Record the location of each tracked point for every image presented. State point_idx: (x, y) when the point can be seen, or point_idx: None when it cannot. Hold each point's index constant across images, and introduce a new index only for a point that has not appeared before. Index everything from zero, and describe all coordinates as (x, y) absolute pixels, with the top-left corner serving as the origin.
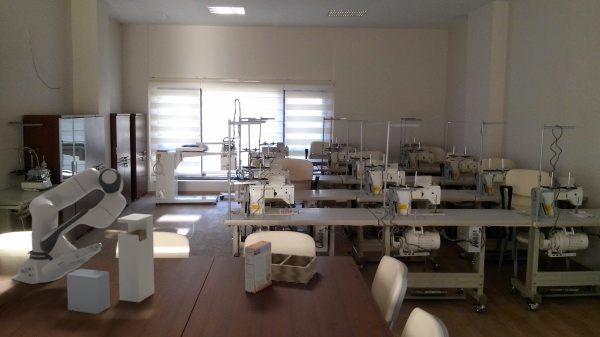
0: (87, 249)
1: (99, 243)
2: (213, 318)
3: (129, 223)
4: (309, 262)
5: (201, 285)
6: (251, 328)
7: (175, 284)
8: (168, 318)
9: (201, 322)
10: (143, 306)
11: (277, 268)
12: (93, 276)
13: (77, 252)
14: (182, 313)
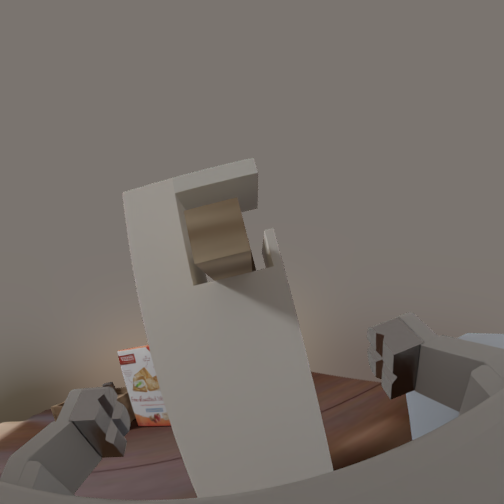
0: (373, 341)
1: (104, 388)
2: (317, 397)
3: (180, 217)
4: (115, 388)
5: (149, 465)
6: (320, 377)
7: (140, 498)
8: (362, 410)
9: (340, 393)
10: (344, 461)
11: (125, 400)
12: (473, 336)
13: (500, 356)
14: (327, 416)
